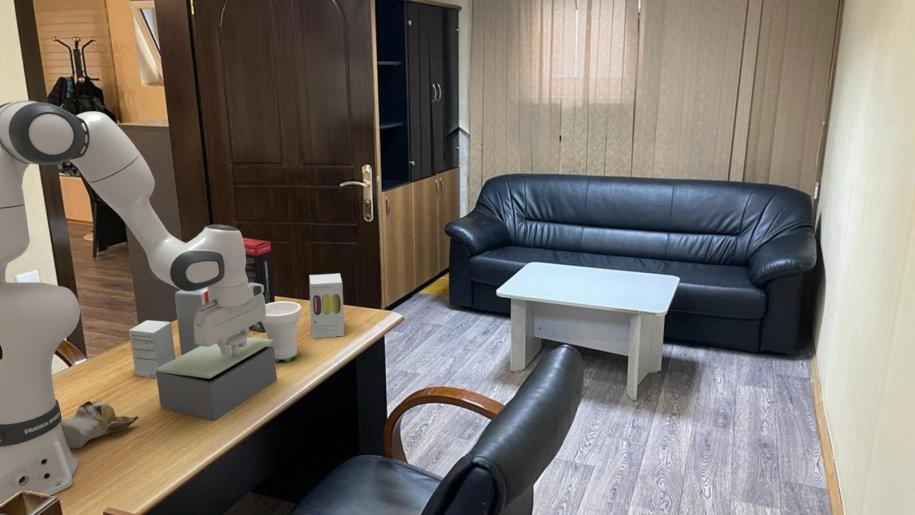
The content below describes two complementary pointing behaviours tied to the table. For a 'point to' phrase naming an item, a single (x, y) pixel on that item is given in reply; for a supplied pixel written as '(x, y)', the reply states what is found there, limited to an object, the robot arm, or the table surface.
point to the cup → (282, 328)
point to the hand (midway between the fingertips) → (234, 350)
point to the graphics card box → (259, 270)
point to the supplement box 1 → (151, 346)
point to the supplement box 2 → (326, 305)
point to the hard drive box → (188, 316)
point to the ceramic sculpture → (92, 423)
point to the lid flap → (214, 357)
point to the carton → (218, 386)
